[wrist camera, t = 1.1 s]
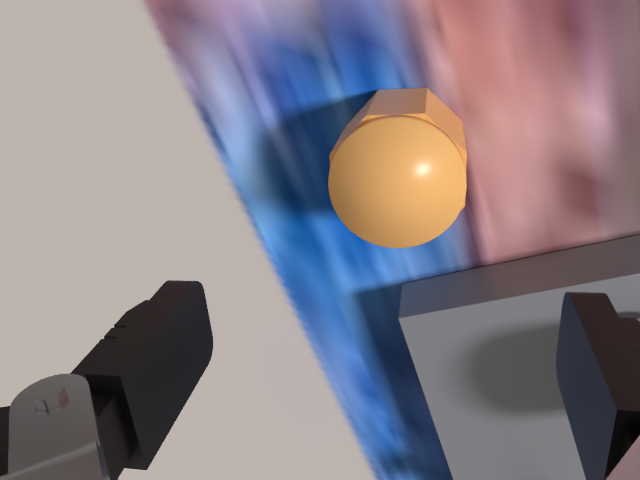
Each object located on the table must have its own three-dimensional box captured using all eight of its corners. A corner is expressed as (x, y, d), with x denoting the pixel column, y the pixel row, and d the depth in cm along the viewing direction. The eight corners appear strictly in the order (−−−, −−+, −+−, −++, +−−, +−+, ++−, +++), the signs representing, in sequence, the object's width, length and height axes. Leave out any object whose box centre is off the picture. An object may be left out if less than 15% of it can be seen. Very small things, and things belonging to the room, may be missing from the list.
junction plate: (402, 283, 27) (388, 408, 19) (681, 225, 23) (799, 352, 16) (478, 514, 33) (490, 680, 25) (711, 496, 29) (807, 684, 22)
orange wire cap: (344, 91, 24) (322, 121, 19) (462, 86, 23) (468, 116, 18) (351, 198, 26) (332, 247, 21) (459, 197, 25) (464, 249, 20)
